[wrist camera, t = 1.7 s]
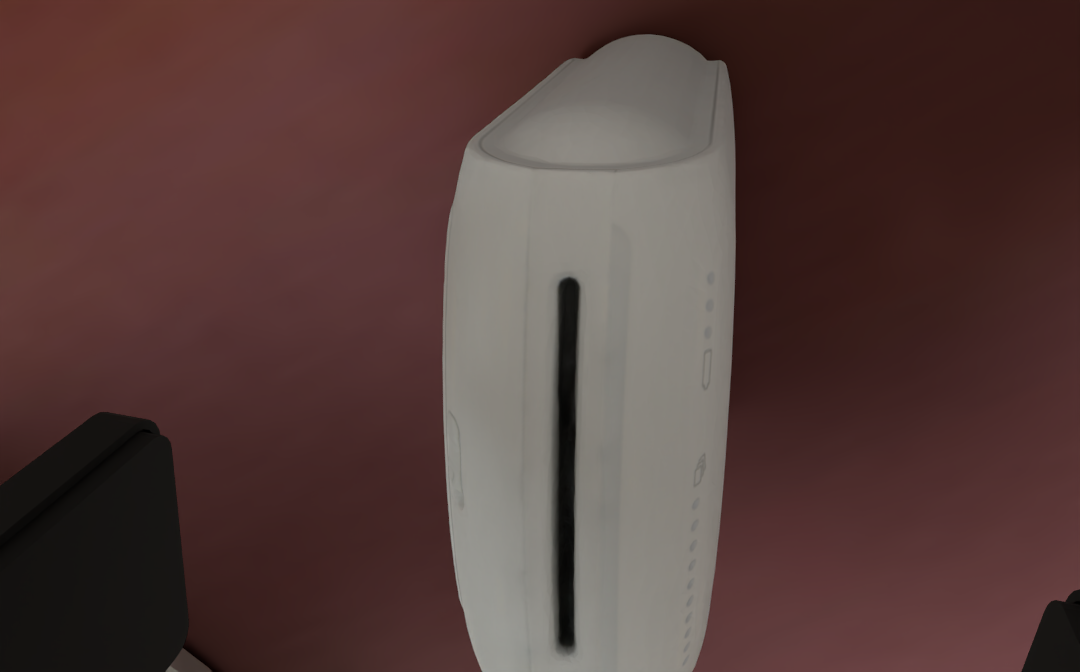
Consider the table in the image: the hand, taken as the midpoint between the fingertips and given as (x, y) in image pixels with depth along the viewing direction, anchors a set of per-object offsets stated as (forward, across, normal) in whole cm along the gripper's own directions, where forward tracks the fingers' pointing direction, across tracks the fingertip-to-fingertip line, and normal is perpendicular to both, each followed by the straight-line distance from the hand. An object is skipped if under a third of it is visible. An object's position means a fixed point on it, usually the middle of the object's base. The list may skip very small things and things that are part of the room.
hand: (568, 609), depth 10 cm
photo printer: (+15, +1, +1) cm, 15 cm away
